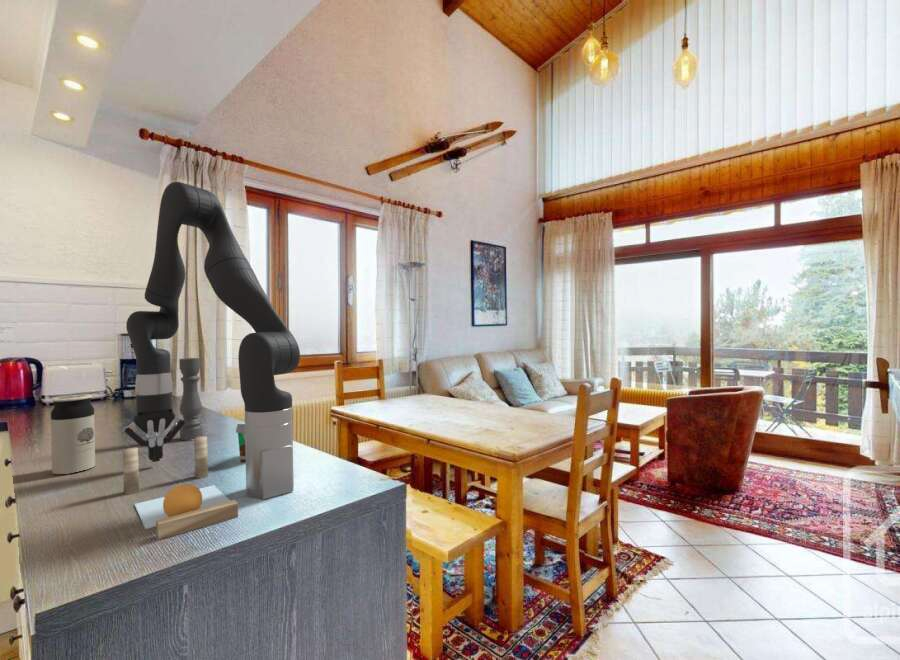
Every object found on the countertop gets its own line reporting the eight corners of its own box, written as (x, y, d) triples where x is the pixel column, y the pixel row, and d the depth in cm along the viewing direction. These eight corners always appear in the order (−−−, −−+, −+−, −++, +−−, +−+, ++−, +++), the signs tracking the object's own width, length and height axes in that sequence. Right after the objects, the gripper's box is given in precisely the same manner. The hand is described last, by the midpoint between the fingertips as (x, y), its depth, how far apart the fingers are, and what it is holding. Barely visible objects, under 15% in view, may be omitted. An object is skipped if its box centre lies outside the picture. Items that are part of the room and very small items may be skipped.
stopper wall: (238, 516, 77) (237, 503, 77) (158, 539, 69) (158, 524, 69) (234, 513, 79) (234, 499, 79) (156, 535, 71) (156, 520, 71)
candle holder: (175, 439, 132) (173, 359, 132) (193, 434, 138) (192, 357, 138) (189, 441, 130) (187, 359, 130) (207, 436, 136) (205, 358, 136)
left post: (139, 491, 90) (139, 449, 90) (124, 495, 88) (123, 451, 88) (138, 488, 92) (137, 446, 92) (123, 491, 90) (122, 449, 90)
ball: (197, 500, 82) (205, 520, 78) (160, 510, 78) (166, 531, 74) (198, 473, 80) (206, 492, 76) (160, 482, 76) (166, 503, 72)
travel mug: (44, 473, 103) (42, 398, 103) (83, 463, 110) (81, 393, 110) (64, 477, 100) (62, 400, 100) (102, 466, 107) (101, 395, 107)
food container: (258, 465, 106) (257, 425, 106) (236, 464, 108) (235, 424, 108) (286, 451, 118) (285, 415, 118) (266, 450, 120) (266, 414, 120)
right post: (209, 476, 99) (208, 437, 99) (196, 479, 97) (195, 439, 97) (206, 473, 101) (205, 435, 101) (193, 476, 99) (193, 437, 99)
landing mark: (233, 505, 82) (233, 504, 82) (145, 529, 73) (145, 528, 73) (214, 486, 93) (214, 485, 93) (134, 505, 83) (134, 504, 83)
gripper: (122, 396, 99) (124, 471, 99) (188, 390, 108) (189, 458, 108) (119, 393, 104) (120, 463, 105) (181, 387, 113) (183, 452, 113)
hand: (155, 460), depth 106 cm, fingers closed
